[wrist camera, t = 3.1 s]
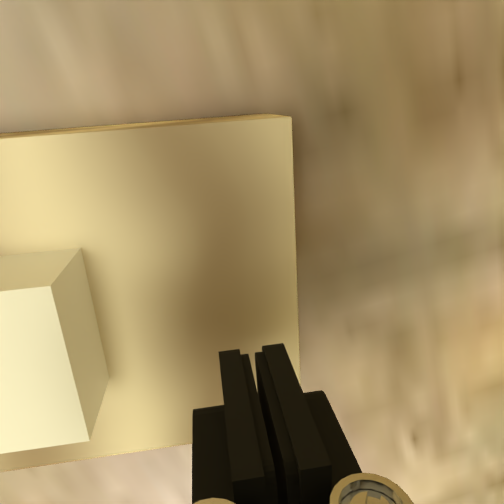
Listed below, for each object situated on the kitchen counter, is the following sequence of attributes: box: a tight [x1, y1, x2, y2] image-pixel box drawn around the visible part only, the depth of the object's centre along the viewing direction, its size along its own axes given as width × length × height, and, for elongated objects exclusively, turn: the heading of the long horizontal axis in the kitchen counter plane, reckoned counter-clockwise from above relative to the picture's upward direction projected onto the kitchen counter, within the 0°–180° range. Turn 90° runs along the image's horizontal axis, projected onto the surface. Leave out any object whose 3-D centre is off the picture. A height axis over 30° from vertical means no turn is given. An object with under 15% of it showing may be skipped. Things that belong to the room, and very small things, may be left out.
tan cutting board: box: [0, 113, 301, 472], centre depth 16 cm, size 20×12×5 cm, turn 94°
